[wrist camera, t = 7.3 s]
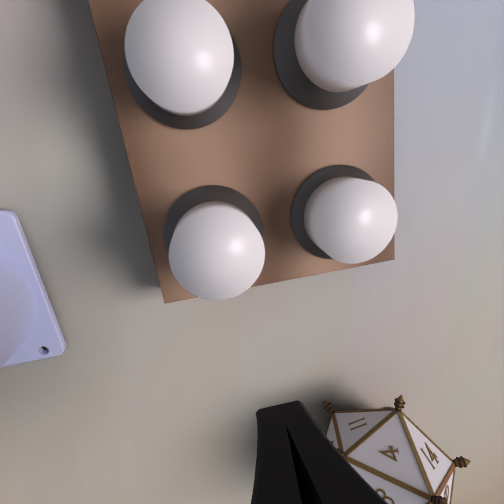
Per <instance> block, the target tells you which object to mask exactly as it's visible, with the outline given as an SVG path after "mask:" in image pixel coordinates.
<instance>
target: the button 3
mask: <svg viewBox="0 0 504 504" xmlns="http://www.w3.org/2000/svg"><path fill="white" fill-rule="evenodd" d="M414 19H415V13H414V3H413V0H308V1H307V2H306V3H305V5H304V7H303V8H302V10H301V13H300V15H299V17H298V20H297V24H296V29H295V51H296V55H297V59H298V62H299V64H300V67H301V68H302V70H303V72H304V73H305V75H306V76H307V77H308V78H309V79H310V81H311V82H313V83H314V84H315V85H317V86H318V87H320V88H322V89H324V90H327V91H331V92H345V91H350V90H352V89H355V88H358V87H360V86H363V85H365V84H368V83H370V82H373V81H376V80H378V79H380V78H382V77H384V76H385V75H386V74H388V73H389V72H390V71H391V70H392V69H394V68H395V66H396V65H397V64H398V63H399V62H400V60H401V59H402V57H403V56H404V54H405V52H406V50H407V48H408V46H409V43H410V41H411V37H412V34H413V28H414Z"/></svg>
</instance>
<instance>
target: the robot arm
mask: <svg viewBox="0 0 504 504" xmlns="http://www.w3.org/2000/svg"><path fill="white" fill-rule="evenodd" d="M42 346H44V347H47V348H48V349H49V351H45V350H43V349H42ZM65 347H66V343H65V341H64V338H63V335H62V333H61V330H60V327H59V325H58V322H57V319H56V317H55V314H54V311H53V309H52V306H51V303H50V301H49V298H48V295H47V293H46V290H45V287H44V285H43V282H42V280H41V277H40V274H39V272H38V269H37V266H36V264H35V261H34V258H33V256H32V253H31V250H30V248H29V245H28V242H27V240H26V237H25V234H24V232H23V229H22V226H21V224H20V221H19V219H18V217H17V215H16V214H15V213H14V212H12V211H10V210H0V368H1V367H5V366H10V365H15V364H20V363H25V362H30V361H35V360H40V359H45V358H50V357H55V356H58V355H60V354H62V353H63V351H64V350H65ZM256 417H257V427H258V443H257V459H256V470H255V480H254V487H253V494H252V500H251V504H388V503H387V502H386V501H385V500H384V499H383V498H382V497H381V496H380V495H379V494H378V493H377V492H376V491H375V490H374V489H373V488H372V487H371V486H370V485H369V484H368V483H367V482H366V481H365V480H364V479H363V478H362V477H361V476H360V475H359V473H358V472H357V471H356V470H355V469H354V468H353V467H352V466H351V465H350V464H349V463H348V461H347V460H346V459H345V458H344V457H343V456H342V455H341V453H340V452H339V451H338V450H337V449H336V448H335V446H334V445H333V444H332V443H331V442H330V440H329V439H328V438H327V437H326V436H325V434H324V433H323V432H322V430H321V429H320V428H319V427H318V425H317V424H316V423H315V421H314V420H313V419H312V417H311V416H310V414H309V413H308V411H307V410H306V408H305V407H304V405H303V404H302V402H300V401H298V400H297V401H293V402H289V403H284V404H280V405H276V406H271V407H267V408H262V409H259V410H258V411H257V412H256Z"/></svg>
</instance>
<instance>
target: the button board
mask: <svg viewBox="0 0 504 504" xmlns="http://www.w3.org/2000/svg"><path fill="white" fill-rule="evenodd" d="M88 1H89V5H90V9H91V13H92V17H93V21H94V25H95V29H96V33H97V37H98V41H99V45H100V49H101V53H102V57H103V61H104V65H105V69H106V73H107V77H108V81H109V85H110V89H111V92H112V96H113V100H114V104H115V108H116V112H117V116H118V120H119V124H120V128H121V132H122V136H123V140H124V144H125V148H126V152H127V156H128V160H129V164H130V168H131V172H132V176H133V180H134V184H135V187H136V191H137V195H138V199H139V203H140V207H141V211H142V215H143V219H144V223H145V227H146V231H147V235H148V239H149V243H150V247H151V251H152V255H153V259H154V263H155V267H156V271H157V275H158V279H159V282H160V286H161V290H162V294H163V298H164V302H165V303H170V302H176V301H181V300H186V299H191V298H196V297H198V296H195V295H193V294H191V293H190V292H188V291H187V290H185V289H184V288H183V287H182V286H181V285H180V284H179V283H178V281H177V280H176V278H175V277H174V275H173V273H172V270H171V267H170V263H169V247H170V243H171V240H172V237H173V234H174V231H175V228H176V226H177V224H178V222H179V220H180V219H181V218H182V216H183V215H184V214H185V213H186V212H187V211H189V210H190V209H191V208H193V207H195V206H197V205H199V204H202V203H205V202H212V201H220V202H226V203H229V204H232V205H234V206H236V207H238V208H239V209H241V210H242V211H243V212H245V213H246V214H247V216H248V217H249V218H250V219H251V221H252V222H253V224H254V225H255V227H256V228H257V230H258V231H259V233H260V235H261V237H262V240H263V243H264V247H265V260H264V265H263V268H262V271H261V273H260V275H259V277H258V278H257V280H256V281H255V282H254V283H253V285H252V286H251V287H254V286H259V285H264V284H269V283H274V282H280V281H285V280H290V279H295V278H300V277H306V276H311V275H316V274H321V273H326V272H332V271H337V270H342V269H347V268H353V267H358V266H363V265H368V264H373V263H379V262H384V261H389V260H394V235H393V237H392V239H391V241H390V242H389V244H388V245H387V246H386V247H385V249H384V250H383V251H382V252H380V253H379V254H378V255H377V256H375V257H374V258H372V259H370V260H367V261H365V262H361V263H356V264H347V263H342V262H339V261H336V260H334V259H333V258H331V257H330V256H329V255H327V254H326V253H325V252H324V251H323V250H322V249H320V248H319V247H318V246H317V245H316V244H315V243H313V242H312V240H311V239H310V238H309V236H308V234H307V232H306V230H305V226H304V210H305V206H306V204H307V201H308V199H309V197H310V196H311V194H312V193H313V192H314V190H315V189H316V188H317V187H318V186H320V185H321V184H322V183H324V182H326V181H327V180H330V179H332V178H336V177H342V176H345V177H353V178H358V179H363V180H368V181H373V182H375V183H378V184H380V185H382V186H383V187H384V188H386V190H387V191H388V192H389V193H390V194H391V196H392V197H393V199H394V69H392V70H391V71H390V72H389V73H388V74H386V75H385V76H384V77H382V78H380V79H378V80H376V81H373V82H370V83H368V84H365V85H363V86H360V87H358V88H355V89H352V90H350V91H345V92H331V91H327V90H324V89H322V88H320V87H318V86H317V85H315V84H314V83H313V82H311V81H310V79H309V78H308V77H307V76H306V75H305V73H304V72H303V70H302V68H301V67H300V64H299V62H298V59H297V55H296V51H295V29H296V24H297V20H298V17H299V15H300V13H301V10H302V8H303V7H304V5H305V3H306V2H307V1H308V0H206V1H207V2H208V3H209V4H211V5H212V6H213V7H214V8H215V9H216V10H217V12H218V13H219V14H220V16H221V17H222V18H223V20H224V22H225V24H226V26H227V28H228V30H229V33H230V36H231V39H232V44H233V51H234V63H233V69H232V73H231V77H230V79H229V82H228V84H227V87H226V89H225V91H224V93H223V95H222V97H221V98H220V99H219V101H218V102H217V103H216V104H215V105H214V106H213V107H211V108H210V109H209V110H207V111H205V112H203V113H200V114H197V115H192V116H182V115H176V114H173V113H170V112H168V111H166V110H164V109H162V108H161V107H159V106H158V105H157V104H155V103H154V102H153V101H152V100H151V99H150V98H149V97H148V96H147V95H146V94H145V93H144V92H143V91H142V90H141V89H140V87H139V86H138V85H137V83H136V82H135V80H134V78H133V77H132V75H131V72H130V70H129V67H128V64H127V61H126V55H125V33H126V28H127V25H128V22H129V20H130V18H131V16H132V14H133V12H134V11H135V9H136V8H137V7H138V6H139V5H140V3H141V2H142V1H144V0H88Z"/></svg>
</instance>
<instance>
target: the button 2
mask: <svg viewBox="0 0 504 504" xmlns="http://www.w3.org/2000/svg"><path fill="white" fill-rule="evenodd" d="M264 260H265V247H264V243H263V240H262V237H261V235H260V233H259V231H258V230H257V228H256V227H255V225H254V224H253V222H252V221H251V219H250V218H249V217H248V216H247V214H246V213H245V212H243V211H242V210H241V209H239V208H238V207H236V206H234V205H232V204H229V203H226V202H220V201H212V202H205V203H202V204H199V205H197V206H195V207H193V208H191V209H190V210H189V211H187V212H186V213H185V214H184V215H183V216H182V218H181V219H180V220H179V222H178V224H177V226H176V228H175V231H174V234H173V237H172V240H171V243H170V247H169V263H170V267H171V270H172V273H173V275H174V277H175V278H176V280H177V281H178V283H179V284H180V285H181V286H182V287H183V288H184V289H185V290H187V291H188V292H190V293H191V294H193V295H195V296H198V297H200V298H204V299H208V300H224V299H229V298H232V297H235V296H237V295H239V294H241V293H243V292H244V291H246V290H247V289H248V288H249V287H251V286H252V285H253V283H254V282H255V281H256V280H257V278H258V277H259V275H260V273H261V271H262V268H263V265H264Z"/></svg>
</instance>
